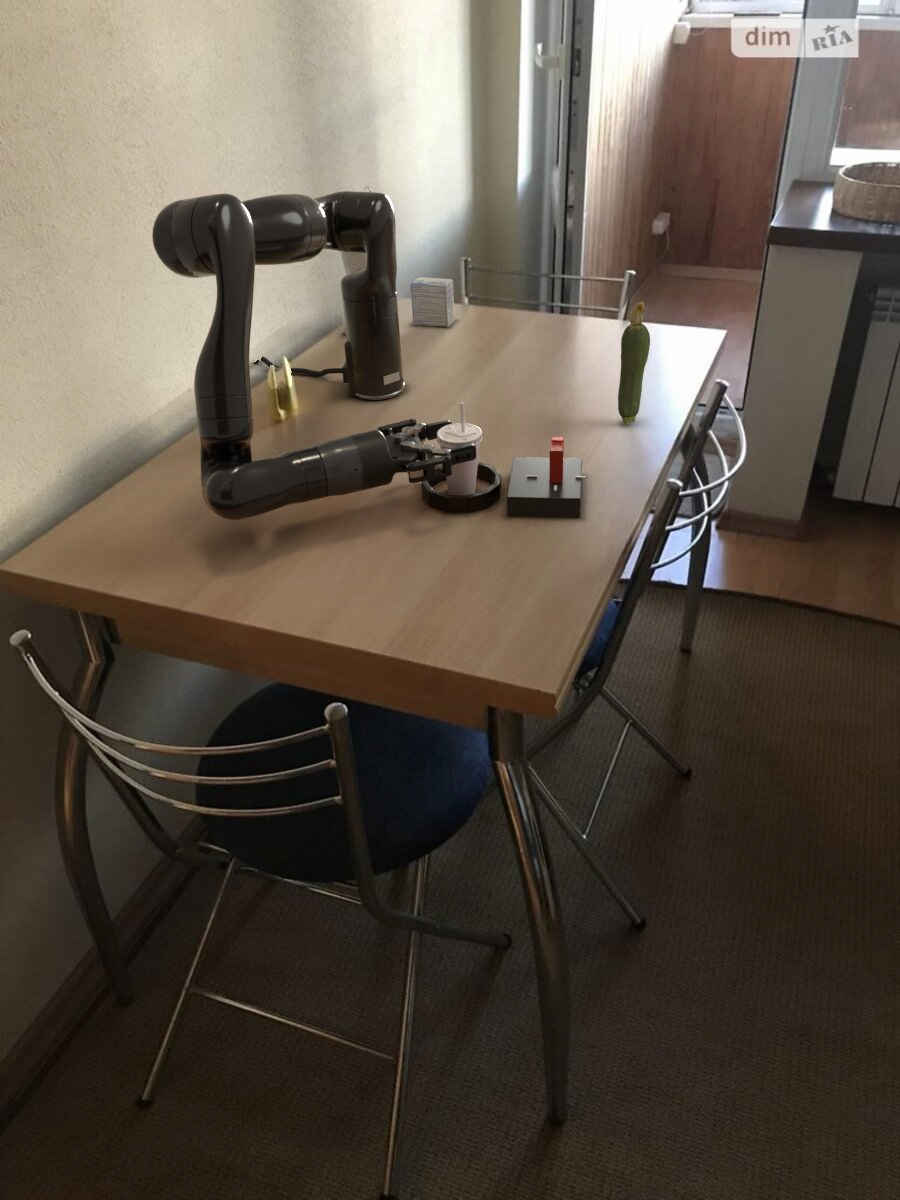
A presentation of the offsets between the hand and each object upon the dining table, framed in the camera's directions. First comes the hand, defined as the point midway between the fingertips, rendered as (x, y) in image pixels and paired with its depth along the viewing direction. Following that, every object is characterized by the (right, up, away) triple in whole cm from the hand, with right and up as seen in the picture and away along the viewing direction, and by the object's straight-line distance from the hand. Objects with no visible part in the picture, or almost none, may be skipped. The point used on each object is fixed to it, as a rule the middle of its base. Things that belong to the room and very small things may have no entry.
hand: (462, 438), depth 133 cm
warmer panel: (+12, -8, +3) cm, 14 cm away
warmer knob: (+13, -5, +1) cm, 14 cm away
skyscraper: (-19, +32, +63) cm, 73 cm away
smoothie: (0, -7, +5) cm, 9 cm away
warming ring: (0, -7, +5) cm, 9 cm away
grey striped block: (-5, +35, +65) cm, 74 cm away
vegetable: (+27, +6, +22) cm, 36 cm away
